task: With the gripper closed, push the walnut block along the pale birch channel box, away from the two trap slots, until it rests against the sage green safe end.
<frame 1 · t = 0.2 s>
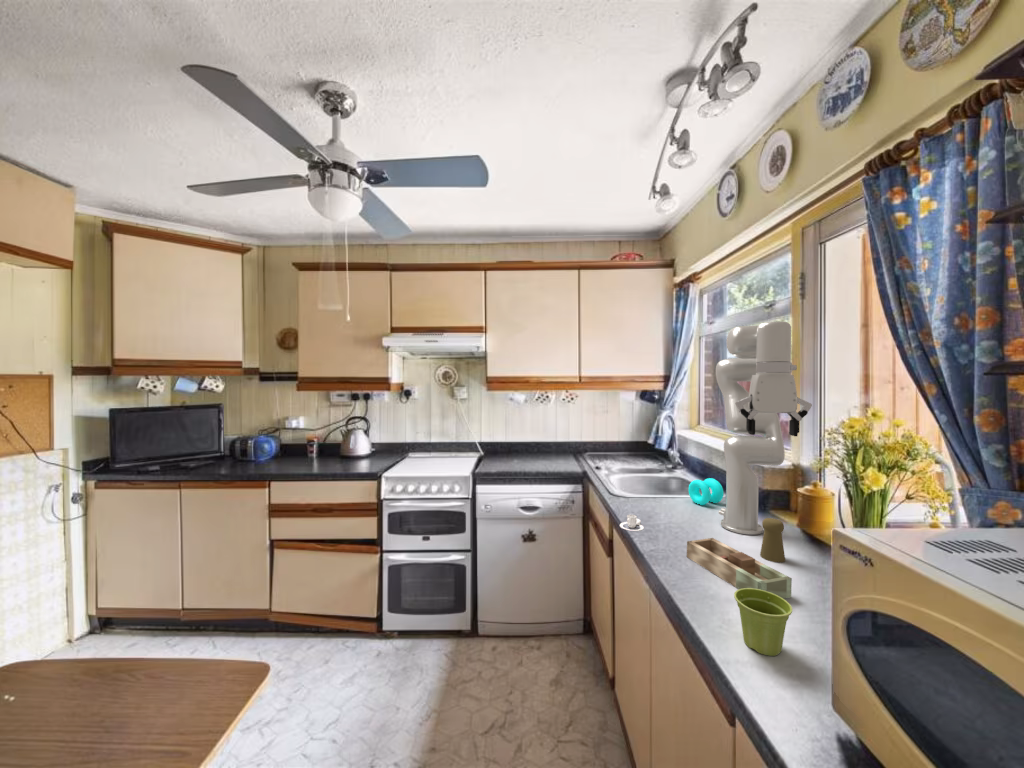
hand: (772, 434, 103), 37 cm above the worktop, tool pointing down, fingers open, 9 cm apart
donuts: (705, 504, 161), on the worktop
cork: (772, 558, 112), on the worktop
teacup and saucer: (640, 529, 135), on the worktop
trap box: (733, 575, 102), on the worktop
block: (741, 571, 100), point 2 cm above the worktop, touching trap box
plant pot: (761, 646, 75), on the worktop
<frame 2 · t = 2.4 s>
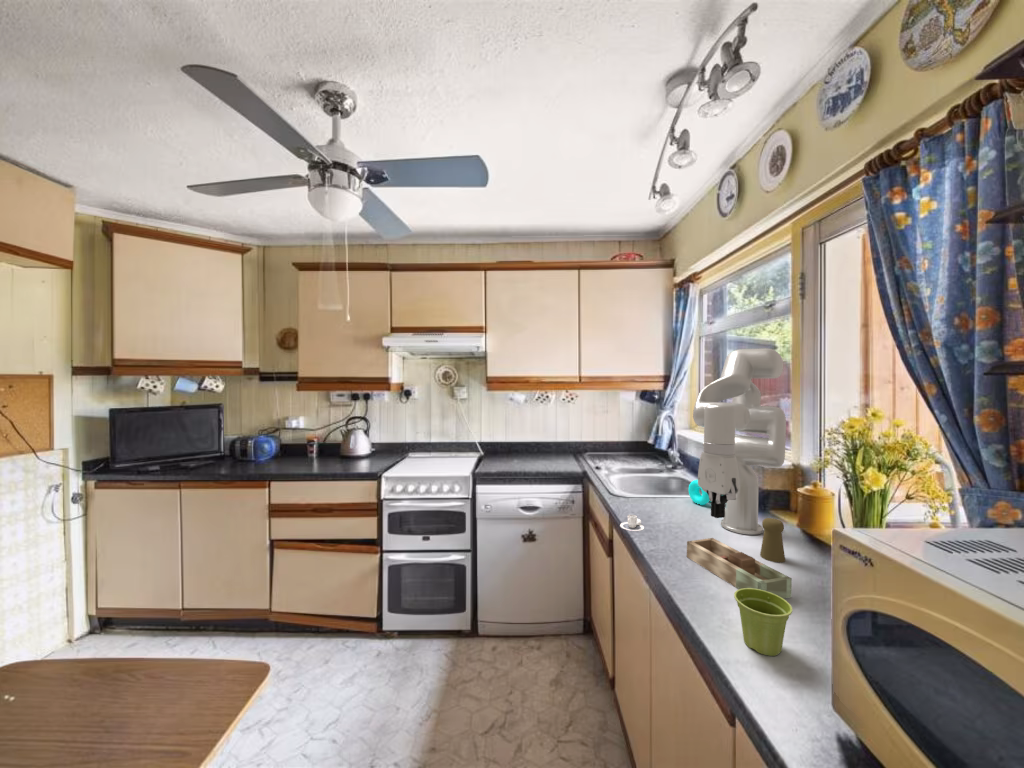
hand: (717, 516, 107), 14 cm above the worktop, tool pointing down, fingers closed
nothing on the worktop moved.
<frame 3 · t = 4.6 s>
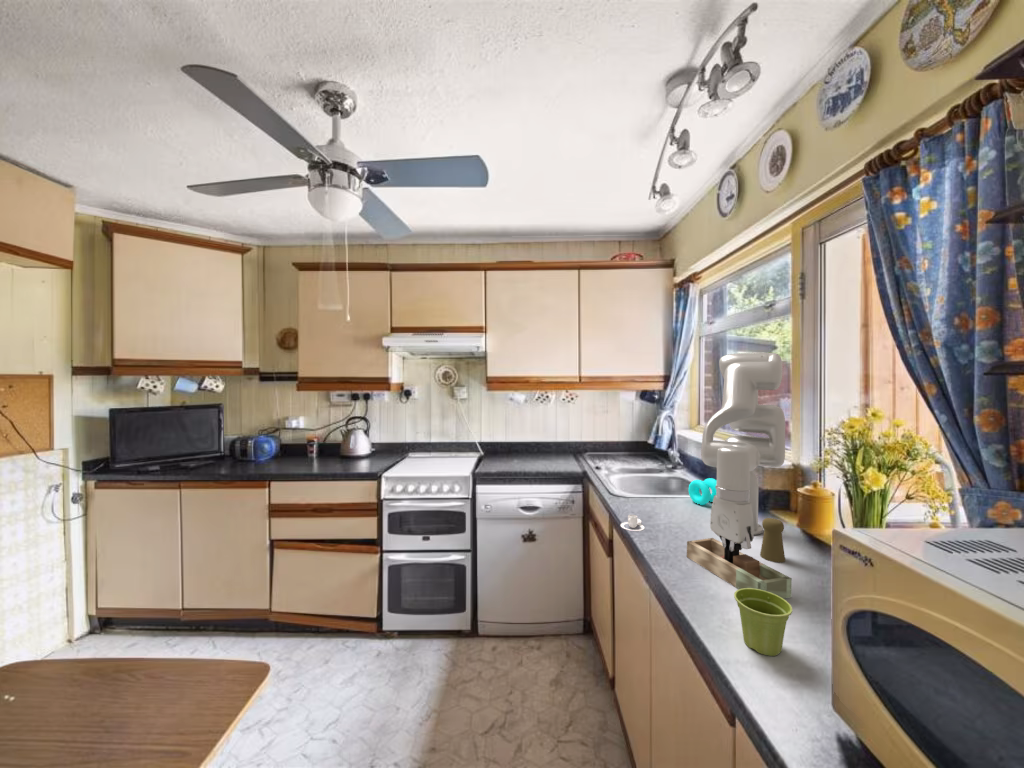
hand: (731, 563, 103), 3 cm above the worktop, tool pointing down, fingers closed
block: (745, 574, 99), point 2 cm above the worktop, touching gripper
everything else where it was.
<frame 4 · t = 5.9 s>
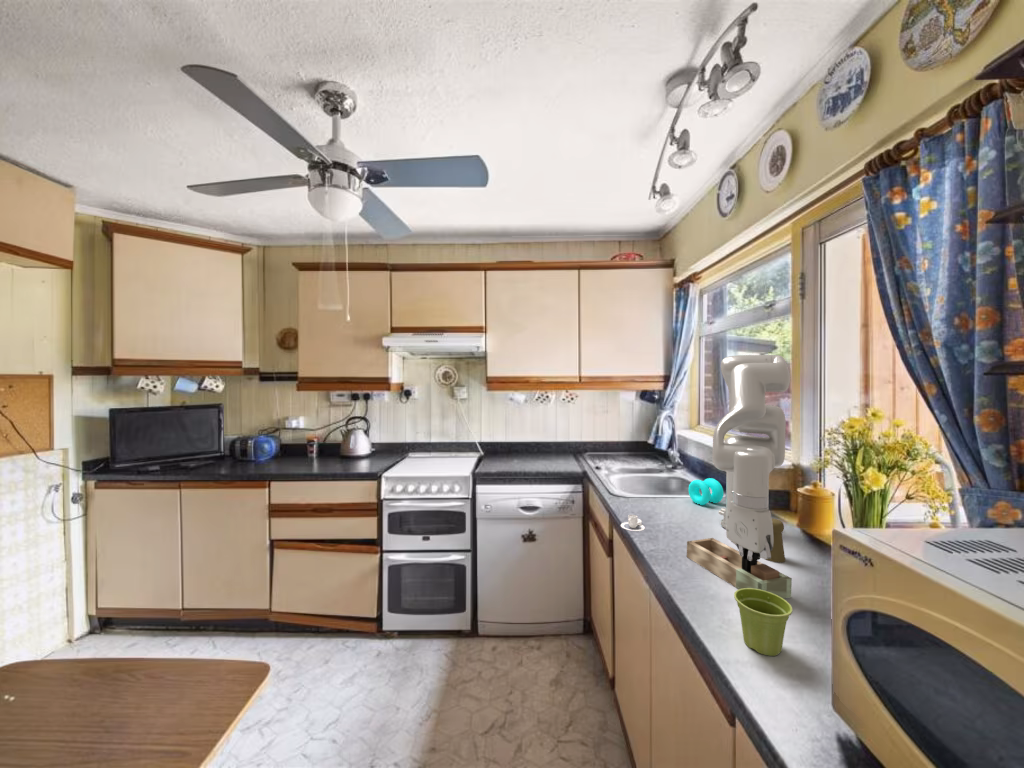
hand: (749, 573, 98), 3 cm above the worktop, tool pointing down, fingers closed
block: (764, 585, 94), point 2 cm above the worktop, touching gripper, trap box
everything else where it was.
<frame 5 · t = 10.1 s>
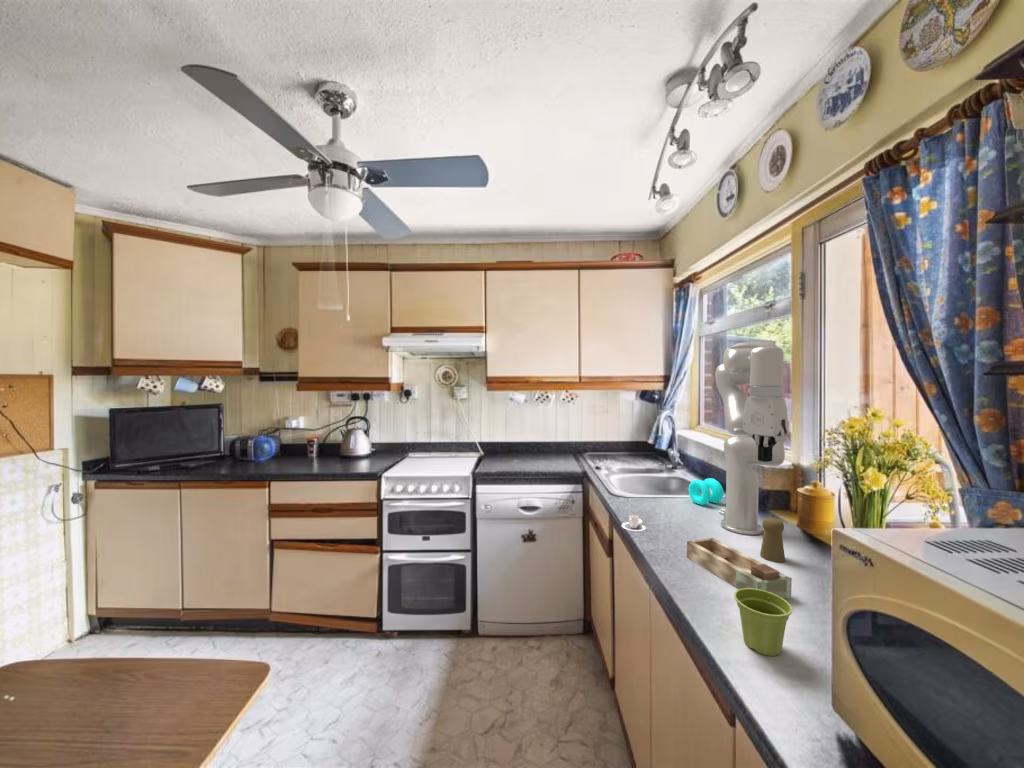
hand: (764, 460, 106), 29 cm above the worktop, tool pointing down, fingers closed
block: (764, 585, 94), point 2 cm above the worktop, touching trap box
everything else where it was.
at the end: block 1.0 cm from the target spot on the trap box, point 2.0 cm above the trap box's base; block tilted 0° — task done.
